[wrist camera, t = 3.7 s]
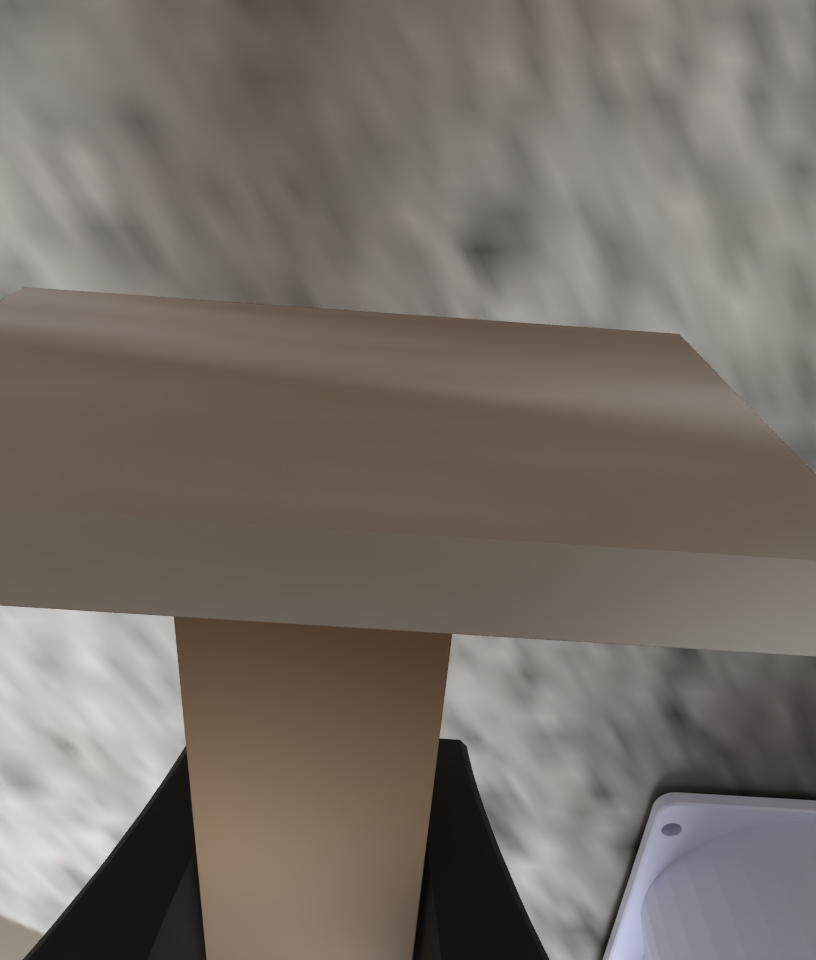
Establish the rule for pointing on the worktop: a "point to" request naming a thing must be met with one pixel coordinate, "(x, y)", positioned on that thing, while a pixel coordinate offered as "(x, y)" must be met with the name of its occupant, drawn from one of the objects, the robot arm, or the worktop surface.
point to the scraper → (373, 551)
